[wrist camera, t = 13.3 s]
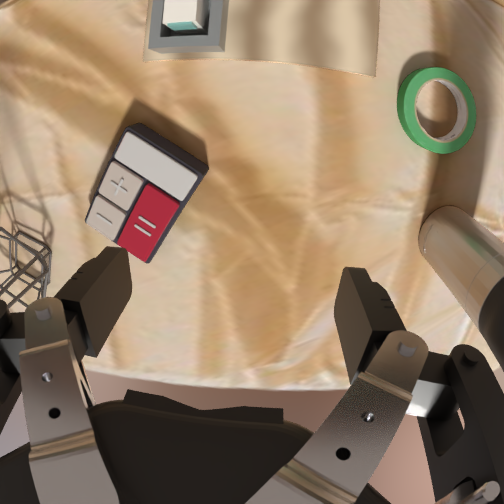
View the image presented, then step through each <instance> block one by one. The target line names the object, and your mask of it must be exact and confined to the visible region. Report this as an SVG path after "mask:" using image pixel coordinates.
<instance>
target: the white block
mask: <svg viewBox="0 0 504 504" xmlns="http://www.w3.org/2000/svg"><path fill="white" fill-rule="evenodd" d="M208 12H209V0H165V1H164V12H163V24H165V25H166V26H168V27H169V28H171V29H172V30H174V31H175V32H177V33H178V34H186V33H207V25H208Z"/></svg>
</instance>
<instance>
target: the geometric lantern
mask: <svg viewBox="0 0 504 504" xmlns="http://www.w3.org/2000/svg"><path fill="white" fill-rule="evenodd" d="M0 231H2V232H3V233H5V234H6V235H7V236H9V237H10V238H8V237H5V236H2V235H0V237H1V238H4V239H7V240H9V258H10V269H9V270H3V271H0V273H4V272H9V271H11V273H12V275H11V276H9V277H8V278H7V279H6V280H5V281H4V282H3V283H2V284H1V285H0V288H1V289H2V290H1V291H0V296H1V295H2V294H3V293H4V292H6V293H7V294H9V295H10V296H11V297H13V298H14V299H13V300H12V301H11V302H10V303H9V304H8V305H7V307H8V309H9V308H10V307H11V306H12V305H13V304H14V303H15V302H17V301H18V302H20V303H21V304H22V305H24V306H25V307H28V306H29V305H27V304H26V303H24V302H23V301H22V300H20V298H21V297H22V296H23V295H24V294H25V293H26V292H27V291H28V290H29V289H31V288H32V287H33V288H35V289H36V290H38V291H39V292H38V297H37V300H38V299H39V297H40V292H41V298H45V297H46V289H47V285H48V284H49V283H50V270H51V256H52V252H51V250H50V249H49V248H48V247H47V246H46V245H44V244H42V243H40V242H38V241H36V240H35V239H33V238H31V237H29V236H27V235H25V234H23V233H22V232H20V231H19V232H18V233H17V234H16V235H14V236H13V235H12V234H10V233H9V232H8V231H6V230H5V229H4V228H3V227H0ZM19 234H21V235H23V236H25V237H26V238H28V239H30V240H32V241H34V242H36V243H37V244H39V245H41V246H43V247H44V248H43V249H42V250H41V251H39V252H38V251H36V250H35V249H33V248H31V247H30V246H28V245H26V244H25V243H23V242H21V241H20V240H18V239H17V236H18V235H19ZM11 240H14V241H15V266H14V267H12V261H11ZM17 243H18V244H19V245H21V246H22V247H23V248H25V249H26V250H28V251H29V252H30V253H32V254H33V255H35V257H34V258H33V259H32V260H31V261H30V262H29V263H28V264H27V265H26V266H25V267H24V268H23V269H22V270H20V268H19V267H18V265H17ZM45 249H47V250H48V251H49V252H50V253H49V252H48V253H47V254H46V255H45V256H44V257H43V255H42V254H41V253H42V252H43V251H44V250H45ZM49 254H50V255H49ZM48 255H49V268H48V266H47V263H46V261H45V258H46V257H47V256H48ZM41 257H42V258H41ZM37 259H39V261H40V262H41V264H42V271H41V275H40V276H39V277H37V278H34V277H32V276H30V275H29V274H27V273H25V271H26V270H27V269H28V268H29V267H30V266H31V265H32V264H33V263H34V262H35V261H36V260H37ZM16 267H17V269H18V271H17V272H16V273H13V271H12V270H13V269H14V268H16ZM44 268H45V271H44V272H43V270H44ZM17 273H18V274H17ZM16 274H17V275H16ZM22 274H25V275H27V276H28V277H30V278H32V279H34V281H33V282H32V283H31V284H30V283H28V282H26V281H25V280H23V279H21V278H20V276H21V275H22ZM12 276H14V278H13V279H12V280H10V281H9V282H8V283H7V285H6V286H5V287H3V285H4V284H5V283H6V282H7V281H8V280H9V279H10V278H11V277H12ZM44 276H45V281H44V283H43V277H44ZM17 279H19V280H21V281H22V282H24V283H26V284H28V286H27V287H26V288H25V289H24V290H23V291H22V292H21V293H20V294H18V295H17V296H15V295H13V294H12V293H11V292H9V291H8V290H7V289H8V288H9V287H10V286H11V285H12V284H13V283H14V282H15V281H16V280H17ZM39 280H41V281H39ZM37 282H39V283H41V288H40V289H39V288H37V287H35V286H34V285H35V284H36V283H37Z"/></svg>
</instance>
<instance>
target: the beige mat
mask: <svg viewBox="0 0 504 504" xmlns="http://www.w3.org/2000/svg"><path fill="white" fill-rule="evenodd" d="M152 4H153V0H149V1H148V10H147V19H146V28H145V39H144V52H143V62H154V61H171V60H245V61H262V62H275V63H285V64H295V65H303V66H311V67H318V68H324V69H331V70H337V71H342V72H348V73H353V74H358V75H363V76H368V77H372V78H373V77H376V65H377V52H378V35H379V10H380V0H229V8H228V19H227V31H226V43H225V52H187V53H166V54H161V53H158V52H155V51H153V50H150V49H148V44H149V33H150V22H151V13H152Z"/></svg>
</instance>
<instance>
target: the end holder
mask: <svg viewBox="0 0 504 504" xmlns="http://www.w3.org/2000/svg"><path fill="white" fill-rule="evenodd" d="M164 1H165V0H153V4H152V13H151V22H150V33H149V44H148V49H150V50H153V51H155V52H158V53H161V54H166V53H187V52H225V43H226V31H227V19H228V8H229V0H209V12H208V25H207V33H186V34H178V33H177V32H175V31H174V30H172V29H171V28H169V27H168V26H166V25H165V24H163V12H164Z"/></svg>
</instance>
